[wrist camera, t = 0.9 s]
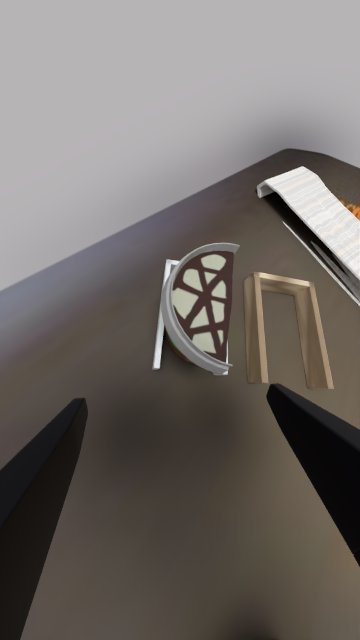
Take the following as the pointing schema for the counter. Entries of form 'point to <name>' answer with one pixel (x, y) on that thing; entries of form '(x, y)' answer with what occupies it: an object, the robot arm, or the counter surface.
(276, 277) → the tan wooden u-shaped piece
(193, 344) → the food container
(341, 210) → the long white curved panel
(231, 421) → the counter surface
